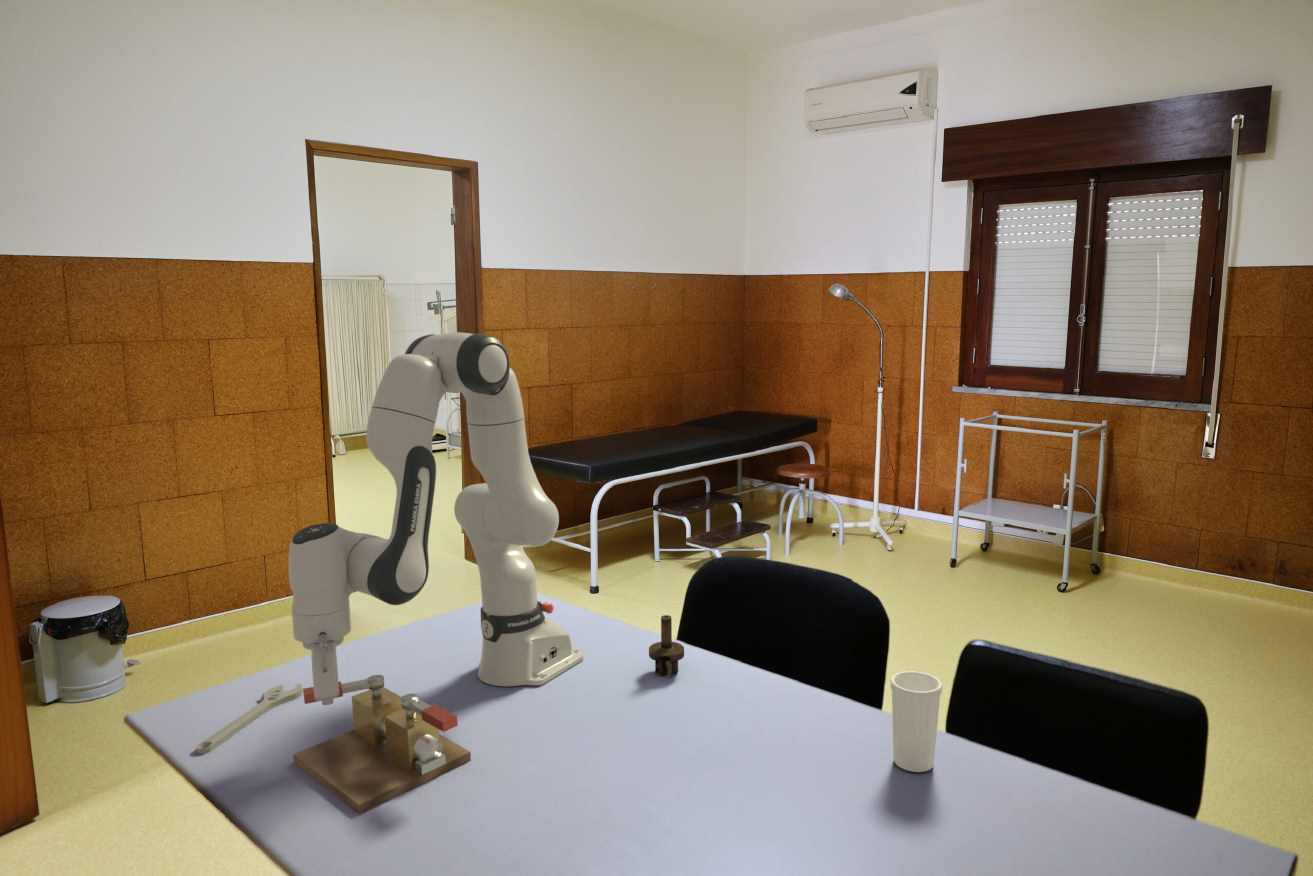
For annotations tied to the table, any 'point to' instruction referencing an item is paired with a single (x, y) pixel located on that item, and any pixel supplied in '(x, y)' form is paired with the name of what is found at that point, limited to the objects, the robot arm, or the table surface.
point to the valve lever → (349, 687)
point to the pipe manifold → (402, 727)
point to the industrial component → (666, 650)
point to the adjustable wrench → (250, 716)
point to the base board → (368, 769)
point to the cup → (915, 719)
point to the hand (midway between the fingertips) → (327, 702)
